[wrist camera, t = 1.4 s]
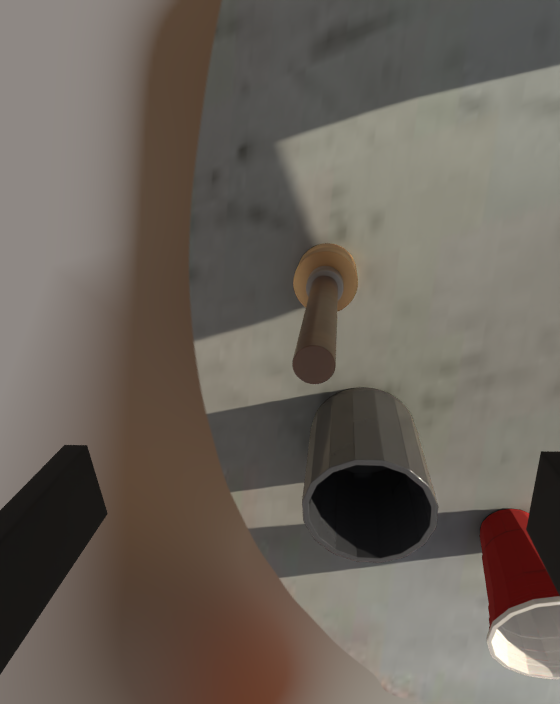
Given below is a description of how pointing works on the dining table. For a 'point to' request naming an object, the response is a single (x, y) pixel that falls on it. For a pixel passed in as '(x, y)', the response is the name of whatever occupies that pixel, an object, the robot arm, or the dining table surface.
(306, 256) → the brush
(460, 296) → the dining table surface
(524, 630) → the plastic cup
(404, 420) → the grey cylindrical container
